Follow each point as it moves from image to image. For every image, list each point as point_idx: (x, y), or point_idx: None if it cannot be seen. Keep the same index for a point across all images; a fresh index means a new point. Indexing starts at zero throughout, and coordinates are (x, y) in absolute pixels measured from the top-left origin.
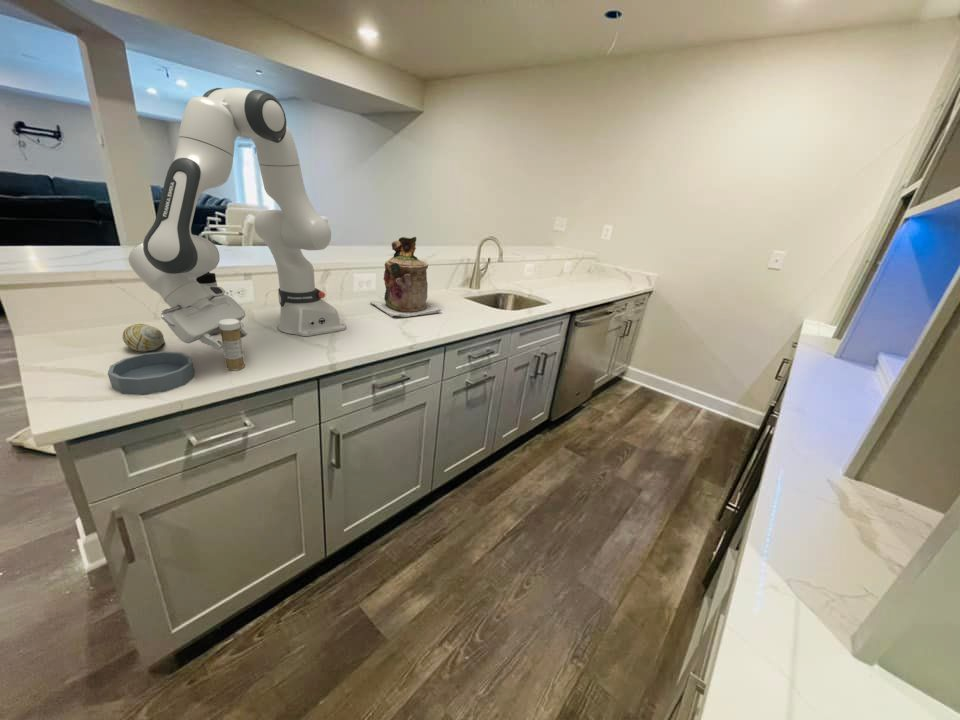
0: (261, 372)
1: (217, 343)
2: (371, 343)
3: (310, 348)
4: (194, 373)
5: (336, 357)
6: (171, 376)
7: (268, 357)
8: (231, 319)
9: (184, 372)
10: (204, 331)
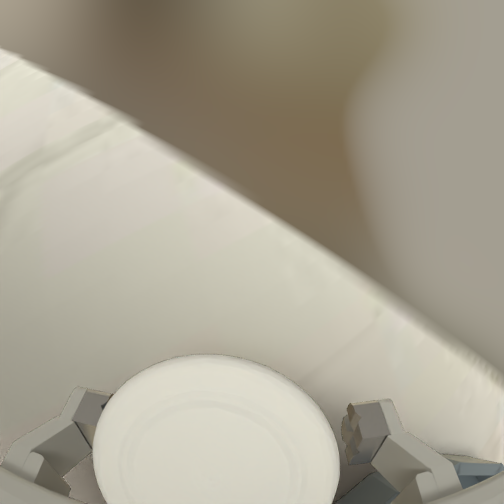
0: (250, 277)
1: (394, 417)
2: (5, 111)
3: (16, 224)
4: (350, 493)
5: (82, 126)
6: (478, 461)
7: (102, 329)
8: (136, 478)
9: None
10: (472, 491)
